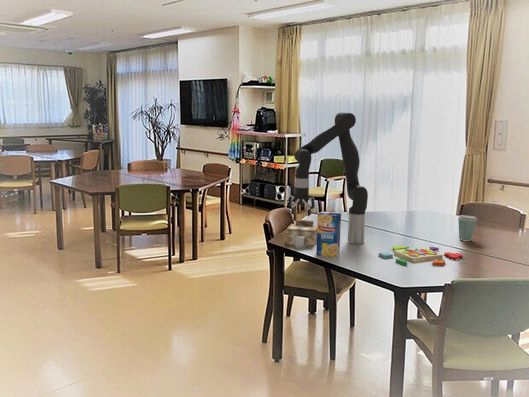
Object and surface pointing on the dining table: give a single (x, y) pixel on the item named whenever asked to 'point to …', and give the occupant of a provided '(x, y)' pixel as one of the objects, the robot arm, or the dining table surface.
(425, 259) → the pattern blocks set
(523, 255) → the dining table surface
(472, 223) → the disposable coffee cup
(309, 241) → the box
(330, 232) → the blue food carton
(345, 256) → the dining table surface
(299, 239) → the steel block
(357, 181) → the robot arm
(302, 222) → the lid
